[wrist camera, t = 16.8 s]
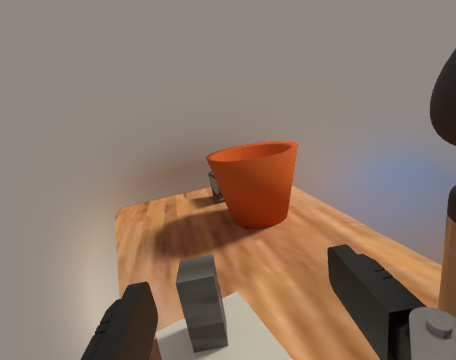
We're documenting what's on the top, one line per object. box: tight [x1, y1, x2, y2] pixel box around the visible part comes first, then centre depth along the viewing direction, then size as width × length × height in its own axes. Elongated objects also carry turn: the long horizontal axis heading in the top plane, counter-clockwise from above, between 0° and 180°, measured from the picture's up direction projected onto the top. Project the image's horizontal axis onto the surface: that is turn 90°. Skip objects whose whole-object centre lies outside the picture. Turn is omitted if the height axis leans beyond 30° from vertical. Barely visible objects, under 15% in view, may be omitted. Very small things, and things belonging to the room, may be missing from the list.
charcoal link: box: [176, 255, 228, 353], centre depth 32 cm, size 5×5×11 cm
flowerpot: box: [207, 141, 298, 228], centre depth 68 cm, size 25×25×20 cm
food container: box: [208, 171, 225, 203], centre depth 90 cm, size 12×6×10 cm, turn 20°
